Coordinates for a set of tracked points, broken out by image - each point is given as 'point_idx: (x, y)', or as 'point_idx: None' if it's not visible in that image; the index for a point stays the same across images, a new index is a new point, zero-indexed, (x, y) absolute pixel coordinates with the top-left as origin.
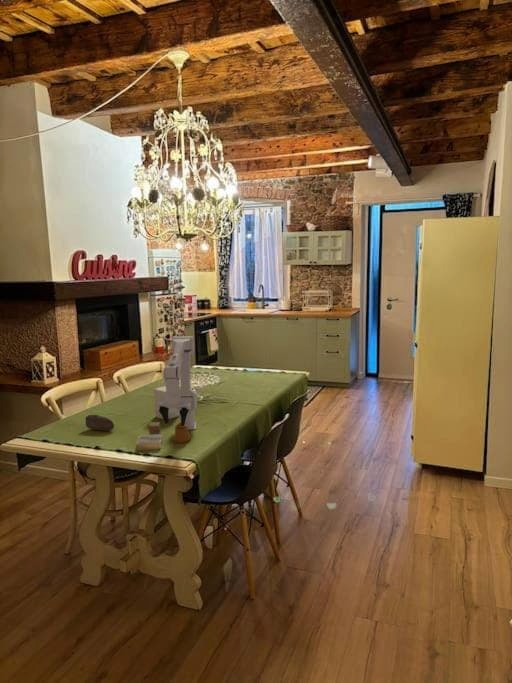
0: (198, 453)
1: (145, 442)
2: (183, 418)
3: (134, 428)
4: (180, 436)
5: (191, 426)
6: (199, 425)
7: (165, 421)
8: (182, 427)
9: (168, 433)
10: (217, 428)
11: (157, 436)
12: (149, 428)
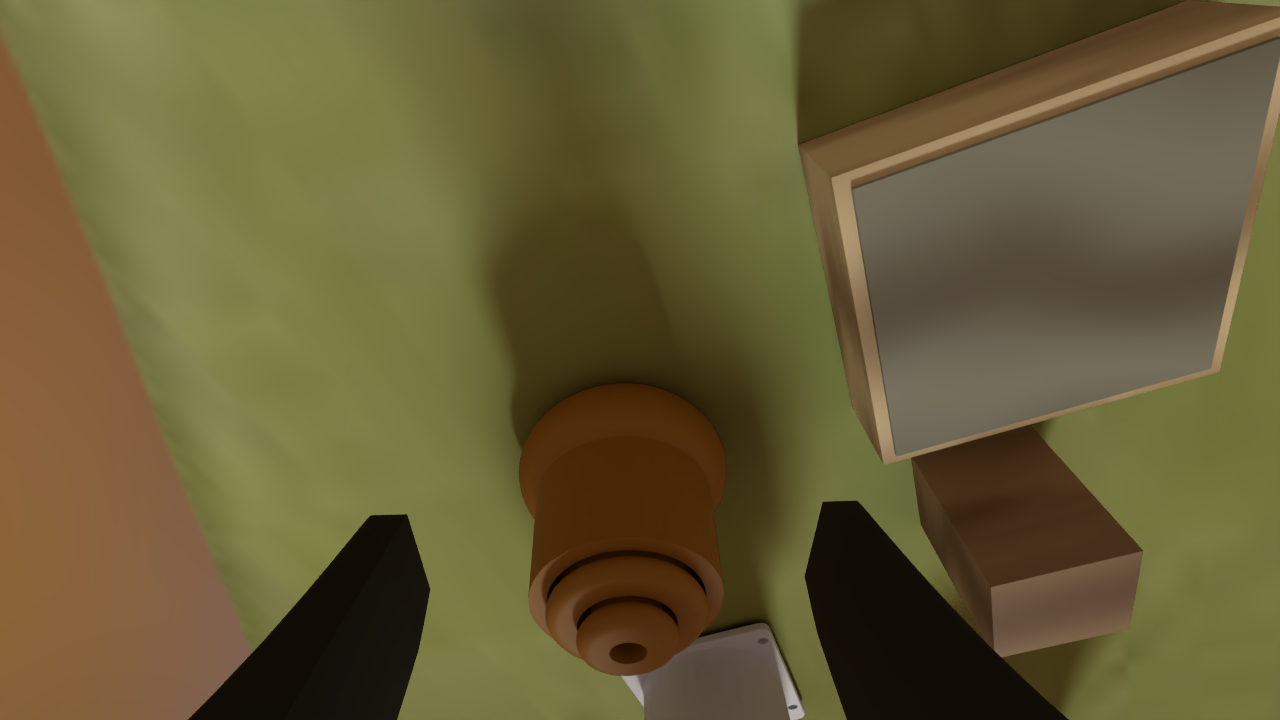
0: (127, 109)
1: (1115, 99)
2: (197, 713)
3: (1219, 583)
4: (604, 447)
5: (656, 682)
6: (621, 712)
7: (868, 557)
8: (578, 572)
9: None
10: (434, 699)
11: (937, 376)
12: (1110, 520)
